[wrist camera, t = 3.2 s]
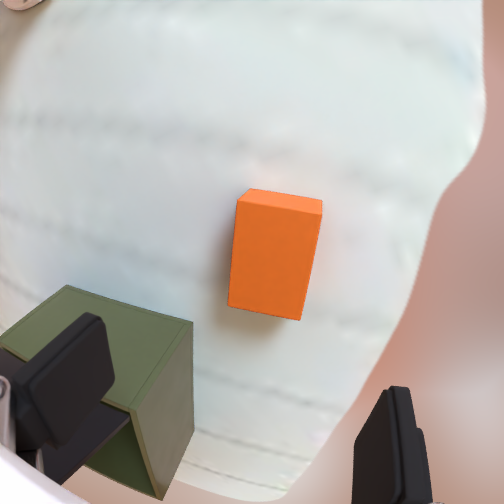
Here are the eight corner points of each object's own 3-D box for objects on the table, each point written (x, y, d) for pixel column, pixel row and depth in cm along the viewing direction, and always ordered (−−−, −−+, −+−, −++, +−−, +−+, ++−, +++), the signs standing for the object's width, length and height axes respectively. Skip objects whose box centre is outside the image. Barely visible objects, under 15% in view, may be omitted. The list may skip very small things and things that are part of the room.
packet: (250, 187, 19) (236, 199, 16) (322, 200, 19) (322, 213, 16) (239, 282, 22) (226, 306, 19) (303, 294, 21) (300, 321, 18)
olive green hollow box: (66, 284, 26) (-4, 338, 17) (193, 321, 24) (135, 410, 15) (93, 392, 32) (51, 446, 23) (194, 430, 30) (162, 501, 21)
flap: (-9, 345, 17) (-10, 340, 17) (129, 421, 15) (129, 415, 15) (-83, 369, 10) (-84, 363, 10) (50, 495, 8) (48, 489, 8)
